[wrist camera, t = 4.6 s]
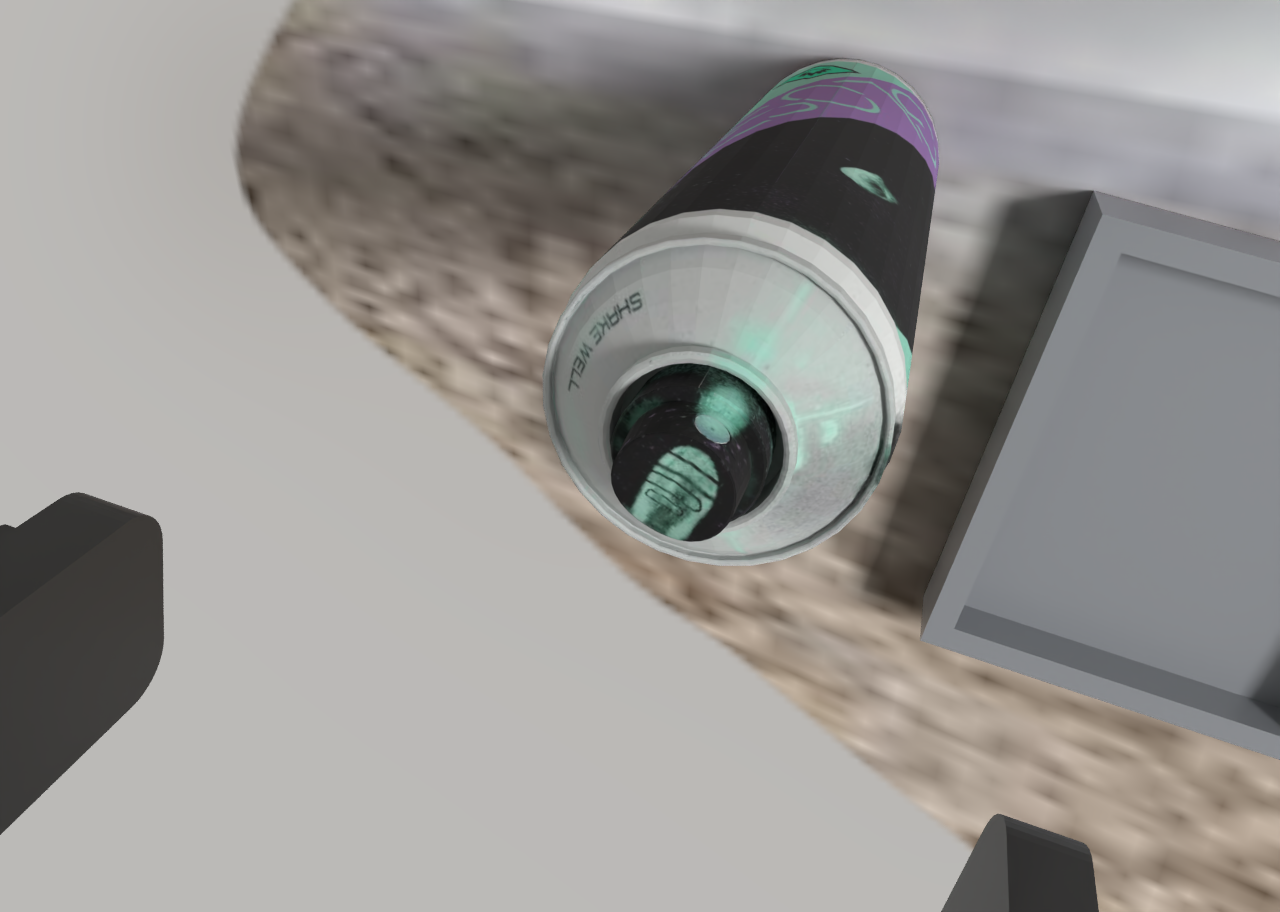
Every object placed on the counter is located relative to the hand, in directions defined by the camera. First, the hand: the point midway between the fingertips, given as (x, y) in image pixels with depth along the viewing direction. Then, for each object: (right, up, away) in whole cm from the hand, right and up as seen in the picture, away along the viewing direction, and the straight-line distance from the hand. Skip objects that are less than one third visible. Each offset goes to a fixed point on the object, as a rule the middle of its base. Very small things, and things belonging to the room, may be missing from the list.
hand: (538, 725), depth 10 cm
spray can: (+7, +11, +21) cm, 25 cm away
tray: (+17, +2, +22) cm, 29 cm away
